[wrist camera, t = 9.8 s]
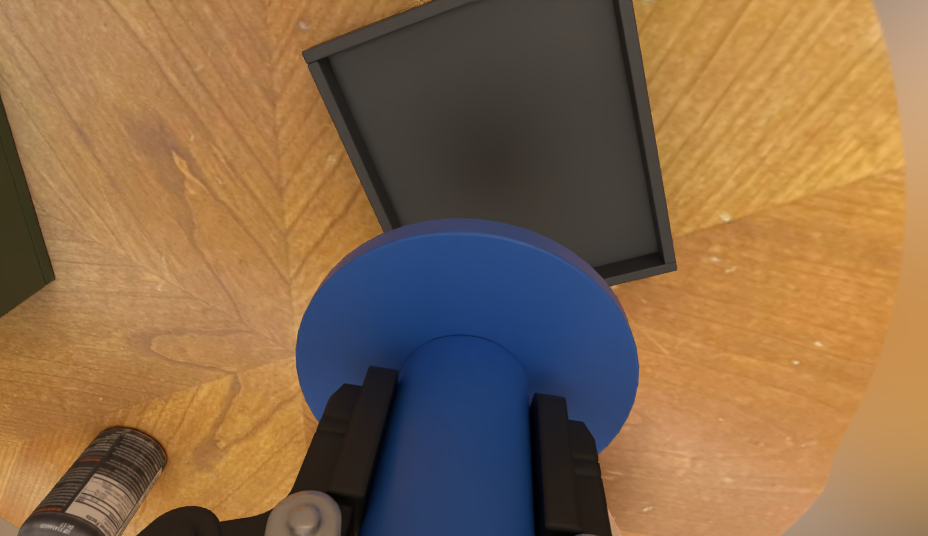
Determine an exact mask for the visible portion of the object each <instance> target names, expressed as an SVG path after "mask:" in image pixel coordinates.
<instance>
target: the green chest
mask: <svg viewBox="0 0 928 536" xmlns="http://www.w3.org/2000/svg"><path fill="white" fill-rule="evenodd" d="M54 279H55V277H54V274H53V271H52V267H51V264H50V261H49V257H48V254H47V251H46V247H45V244H44V241H43V238H42V234H41V231H40V228H39V224H38V221H37V218H36V214H35V211H34V208H33V204H32V201H31V198H30V195H29V191H28V188H27V185H26V181H25V178H24V175H23V171H22V168H21V165H20V161H19V158H18V155H17V151H16V148H15V145H14V142H13V138H12V135H11V132H10V128H9V125H8V122H7V118H6V115H5V112H4V108H3V105H2V102H1V98H0V318H1V317H2V316H4V315H5V314H7V313H8V312H9V311H11V310H12V309H14V308H15V307H16V306H18V305H19V304H21V303H22V302H23V301H25V300H26V299H28V298H29V297H30V296H32V295H33V294H35V293H36V292H37V291H39V290H40V289H42V288H43V287H45V286H46V285H47V284H49V283H50V282H52V281H53V280H54Z"/></svg>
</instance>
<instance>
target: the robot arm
mask: <svg viewBox="0 0 928 536" xmlns="http://www.w3.org/2000/svg"><path fill="white" fill-rule="evenodd" d="M398 377H399V370H395V369H389V368H383V367H377V366H369V368H368V371H367V373H366V376H365V379H364V382H363V385H362V386H359V385H353V384H346V383H344V384H343V385H342V386H341V387H340V388H339V389H338V390H337V391H336V392H335V393H333V394H332V395H331V396H330V398H329V400H328V402H327V405H326V407H325V410H324V412H323V415H322V418H321V420H320V422H319V425H318V427H317V431H316V433H315V434H314V437H313V439H312V442H311V444H310V447H309V449H308V452H307V454H306V457H305V459H304V461H303V464H302V466H301V469H300V471H299V474H298V476H297V479H296V481H295V484H294V486H293V488H292V490H291V492H290V493H289V494H288V496H287V497H286V498H284V499H283V500H282V501H280V502H279V503H278V504H277V505H276V506H275V507H274V508H273V509H271V510H269V511H267V512H265V513H263V514H260V515H257V516H253V517H247V518H241V519H234V520H228V521H221V522H219V520H218V518H217V517H216V515H215V514H214V513H213V512H211V511H210V510H208V509H206V508H203V507H198V506H185V507H180V508H177V509H173V510H171V511H169V512H166V513H164V514H163V515H161V516H159V517H158V518H157V519H155V520H154V521H153V522H152V523H150V524H149V525H148V526H147V527H146V528H145V529H144V530H142V531H141V532H140V533H139V534H138V535H137V536H358V533H359V529H360V526H361V523H362V521H363V517H364V513H365V509H366V505H367V501H368V497H369V494H370V490H371V486H372V482H373V478H374V474H375V470H376V467H377V463H378V459H379V455H380V451H381V447H382V443H383V440H384V436H385V432H386V428H387V424H388V420H389V416H390V413H391V409H392V405H393V401H394V397H395V393H396V389H397V386H398ZM530 426H531V447H532V468H533V489H534V510H535V531H536V536H612V531H611V526H610V520H609V515H608V509H607V503H606V498H605V492H604V487H603V481H602V479H601V470H600V464H599V463H598V453H597V448H596V442H595V439H594V437H593V436H592V434H591V433H590V431H589V429H588V428H587V426H586V425H585V423H584V422H582V421H575V420H569V419H568V411H567V404H566V399H565V397H561V396H555V395H549V394H543V393H537V392H535V393H534V395H533V398H532V401H531V405H530Z"/></svg>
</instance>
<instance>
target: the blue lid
mask: <svg viewBox="0 0 928 536" xmlns="http://www.w3.org/2000/svg"><path fill="white" fill-rule="evenodd" d="M369 366H377V367H383V368H389V369H395V370H399V377H398V386H397V389H396V393H395V397H394V401H393V405H392V409H391V413H390V416H389V420H388V424H387V428H386V432H385V436H384V440H383V443H382V447H381V451H380V455H379V459H378V463H377V467H376V470H375V474H374V478H373V482H372V486H371V490H370V494H369V497H368V501H367V505H366V509H365V513H364V517H363V521H362V523H361V526H360V529H359V533H358V536H536V531H535V510H534V489H533V468H532V447H531V426H530V405H531V401H532V398H533V395H534V393H535V392H537V393H543V394H549V395H555V396H561V397H565V399H566V404H567V411H568V419H569V420H575V421H582V422H584V423H585V425H586V426H587V428H588V429H589V431H590V433H591V434H592V436H593V437H594V439H595V442H596V448H597V453H598V454H599V453H600V452H601V451H602V450H603V449H605V448H606V447H607V446H608V445H609V443H610V442H611V441H612V440H613V439H614V437H615V436H616V435H617V434H618V433H619V431H620V429H621V428H622V426H623V425H624V423H625V421H626V420H627V418H628V416H629V413H630V411H631V408H632V406H633V403H634V401H635V396H636V392H637V387H638V378H639V362H638V355H637V348H636V345H635V341H634V338H633V335H632V332H631V329H630V326H629V323H628V320H627V317H626V314H625V312H624V310H623V308H622V306H621V304H620V302H619V300H618V298H617V296H616V295H615V294H614V292H613V291H612V290H611V288H610V287H609V285H608V284H607V283H606V281H605V280H604V279H603V278H602V277H601V276H600V275H599V274H598V273H597V272H596V271H595V270H594V269H593V268H592V267H591V266H590V265H589V264H588V263H587V262H585V261H584V260H583V259H581V258H580V257H579V256H577V255H576V254H575V253H574V252H572V251H571V250H569V249H567V248H566V247H564V246H562V245H560V244H559V243H557V242H555V241H553V240H552V239H550V238H547V237H545V236H542V235H540V234H537V233H535V232H533V231H530V230H528V229H524V228H521V227H517V226H514V225H510V224H506V223H502V222H495V221H489V220H482V219H464V218H450V219H439V220H429V221H424V222H419V223H415V224H410V225H405V226H402V227H400V228H397V229H394V230H391V231H388V232H385V233H383V234H381V235H379V236H377V237H375V238H373V239H371V240H369V241H367V242H365V243H363V244H362V245H360V246H359V247H358V248H356V249H355V250H353V251H352V252H351V253H349V254H348V255H346V256H345V257H344V258H343V259H342V260H341V261H340V262H339V263H338V264H337V265H336V266H335V267H334V268H333V269H332V270H331V271H330V272H329V274H328V275H327V276H326V278H325V279H324V280H323V282H322V283H321V284H320V286H319V288H318V289H317V291H316V293H315V295H314V296H313V298H312V300H311V302H310V304H309V306H308V307H307V309H306V311H305V313H304V315H303V318H302V321H301V324H300V328H299V331H298V336H297V343H296V368H297V373H298V378H299V383H300V386H301V389H302V392H303V394H304V397H305V400H306V402H307V404H308V405H309V407H310V409H311V411H312V413H313V414H314V416H315V417H316V419H317V420H318V422H320V420H321V418H322V415H323V412H324V410H325V407H326V405H327V402H328V400H329V398H330V396H331V395H332V394H333V393H335V392H336V391H337V390H338V389H339V388H340V387H341V386H342V385H343V384H344V383H346V384H353V385H359V386H362V385H363V382H364V379H365V376H366V373H367V371H368V368H369Z"/></svg>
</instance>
